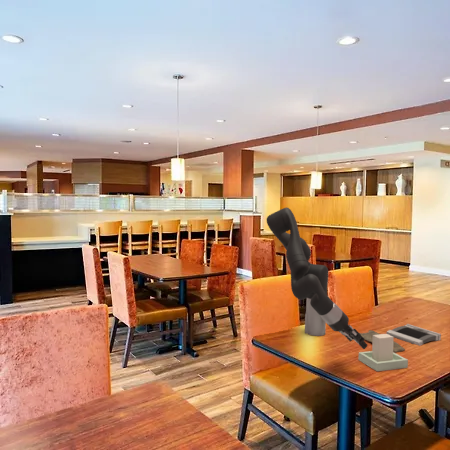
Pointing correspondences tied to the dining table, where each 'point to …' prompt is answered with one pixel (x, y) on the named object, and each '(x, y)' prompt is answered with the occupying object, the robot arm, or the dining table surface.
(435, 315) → the dining table surface
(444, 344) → the dining table surface
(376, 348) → the gray block
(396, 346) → the stone tool
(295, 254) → the robot arm
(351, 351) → the dining table surface
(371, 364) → the pale green tray
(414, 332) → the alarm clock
